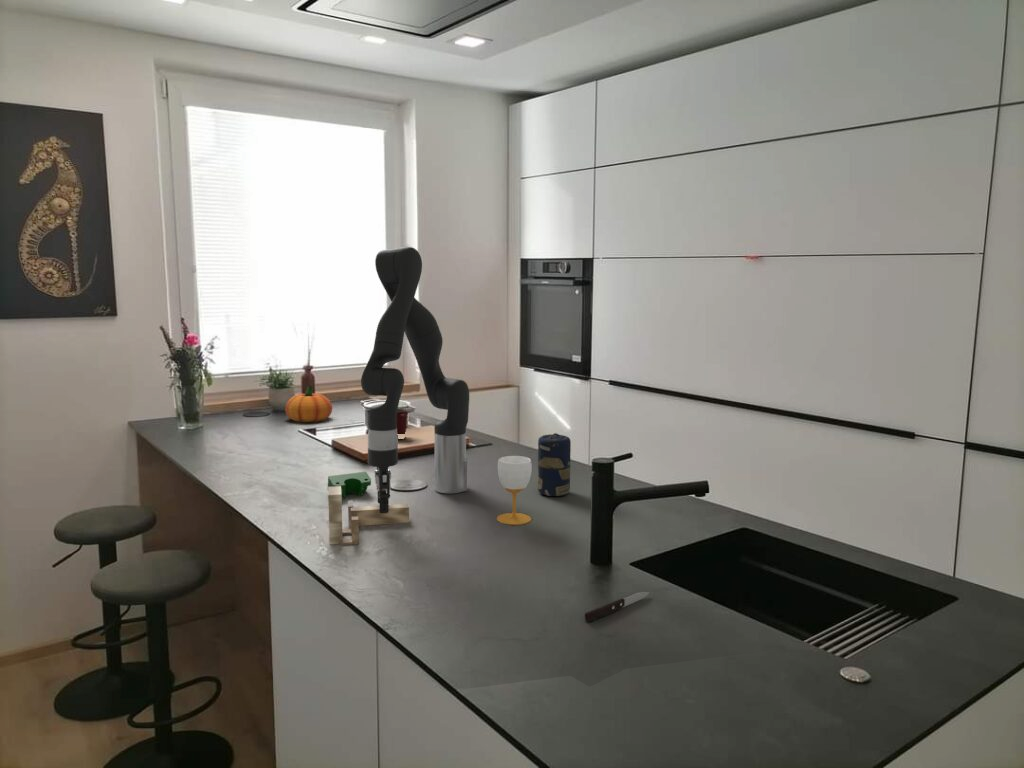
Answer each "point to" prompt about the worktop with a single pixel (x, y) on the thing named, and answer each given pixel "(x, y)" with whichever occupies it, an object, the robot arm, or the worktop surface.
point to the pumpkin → (308, 407)
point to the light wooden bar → (379, 514)
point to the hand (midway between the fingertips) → (382, 507)
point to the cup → (514, 484)
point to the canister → (554, 464)
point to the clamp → (350, 482)
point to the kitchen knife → (613, 606)
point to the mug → (401, 421)
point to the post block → (340, 519)
